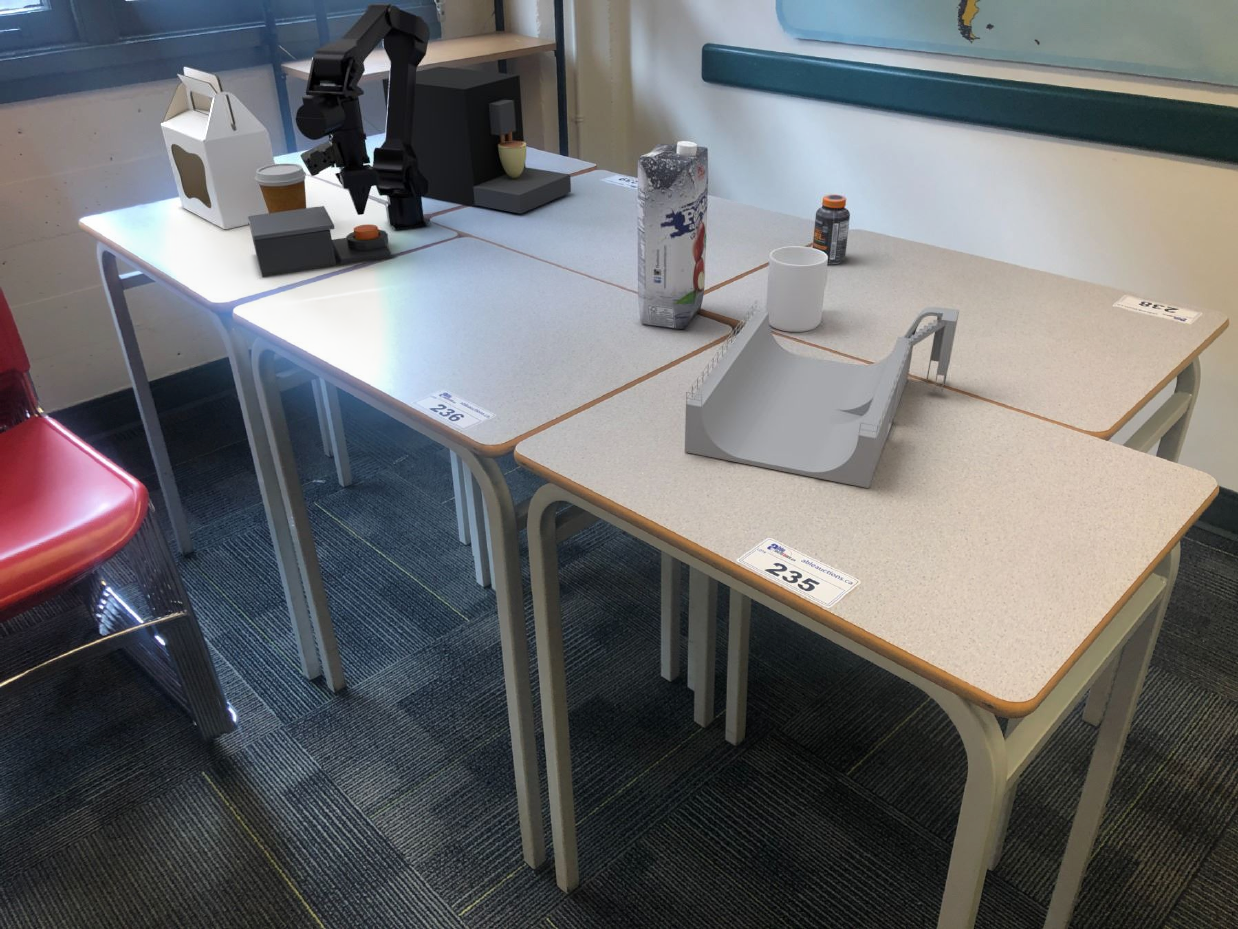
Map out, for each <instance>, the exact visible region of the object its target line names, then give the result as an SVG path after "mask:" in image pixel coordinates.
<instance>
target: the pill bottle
mask: <svg viewBox="0 0 1238 929" xmlns="http://www.w3.org/2000/svg"><path fill="white" fill-rule="evenodd" d="M821 205H822V206H821V207H819V208H818V209H817V210H816V211H815V217H814V218H815V219H814V227H813V228H814V229H813V240H812V248H814V249H818V250H820V251H822V252H824V253H826V254H827V256H828V262H827V265H837V264H841V263H843V262H844V261H845V259H846V254H847V245H848V236H849V231H850V230H849V229H850V218H851V214H850V211H849V210H848V208H846V205H847V197H845V195H842V194H833V193H832V194H826V195H824V196H823V197H822V201H821Z"/></svg>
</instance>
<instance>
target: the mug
mask: <svg viewBox="0 0 1238 929" xmlns="http://www.w3.org/2000/svg"><path fill="white" fill-rule="evenodd" d="M768 260H769V261H768V273H767V285H766V299H765V312H769V326H770V327H771V328H774V329H775V330H779V331H783V332H788V333H789V332H790V333H803V332H809V331H812V330H814V329H816V328H817V327H818V326H819V325H820V323H821V322H822V316H823V310H824V309H823V307H824V298H825V291H826V285H827V281H828V273H829V269H828V264H827V262H828V256H827V254H826V253H824V252H822V251H820V250H818V249H814V248H813V247H809V246H801V245H799V246H797V245H795V246H793V245H792V246H791V245H790V246H783V247H779V248H775V249H773V250H772V251H771V252H770V253H769V257H768Z"/></svg>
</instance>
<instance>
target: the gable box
mask: <svg viewBox="0 0 1238 929" xmlns="http://www.w3.org/2000/svg"><path fill="white" fill-rule="evenodd" d="M176 75H177V76H178V78H179V79H180V81H181V82H179V83H178V85H177V86H176V88H175V90H174V93H173V95H172V98H171V100H170V103H169V106H168V108H167V110H166V112H165V115H164V117H163V120H162V122H161V123H160V128H161V132H162V135H163V139H164V143H165V147H166V151H167V154H168V158H169V162H170V166H171V170H172V173H173V174H172V175H173V178H174V182H175V186H176V189H177V193H178V198H179V201H180V204H181V208H183V209H185V210H186V211H189V212H190V213H192V214H195V215H196V216H198V217H200V218H202V219H204V220H205V221H208V222H209V223H211V224H213V225H215V226H217V227H219V228H221V229H223V230H225V231H226V230H231V229H234V228H239V227H243V226H247V225H249V220H248V216H253V215H260V214H268V213H269V212H268V209H267V206H266V203H265V200H264V197H263V194H262V191H261V188H260V185H259V184H258V183H257V181H256V179H255V177H256V171H257V170H258V169H259V168H261V167H264V166H268V165H274V164H276V163H275V158H274V153H273V148H272V143H271V138H270V134H269V129H268V128H266V127H265V126H264V125H263V124H262V122H261V121H259V119H257V117H256V116H255V115H254V114H253V113H252V112H251V111H250V110H249V109H248V108H247V107H246V106H245V105H244V103H242V101H241V100H239V99H238V97H237V96H236V95H234V94H233V92H229V91H224V89H223V87H222V83H221V79H220V77H219V76H218V75H217V74H214V73H211V72H208V71H204V70H201V69H197V68H194V67H190V66H184V67H183V74H182V73H179V72H177V73H176ZM210 98H211V99H212V100H211V99H210Z"/></svg>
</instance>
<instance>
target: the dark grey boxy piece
mask: <svg viewBox="0 0 1238 929" xmlns="http://www.w3.org/2000/svg"><path fill="white" fill-rule="evenodd" d="M248 225H249V229H250V234H251V239H252V242H253V243H252V244H253V248H254V251H255V256H256V259H257V263H258V266H259V270H260V274H261V277H262V278H267V277H273V276H275V277H276V276H280V275H288V274H295V273H300V272H301V273H302V272H308V271H314V270H322V269H329V268H336V267H337V260H336V255H335V254H336V253H335V250H334V248H333V243H332V240H333V238H332V233H331V230H324V231H317V232H310V233H303V234H296V235H289V236H281V237H274V238H267V239H260V240H254V238H253V234H252V231H251V227H250V224H248Z"/></svg>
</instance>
